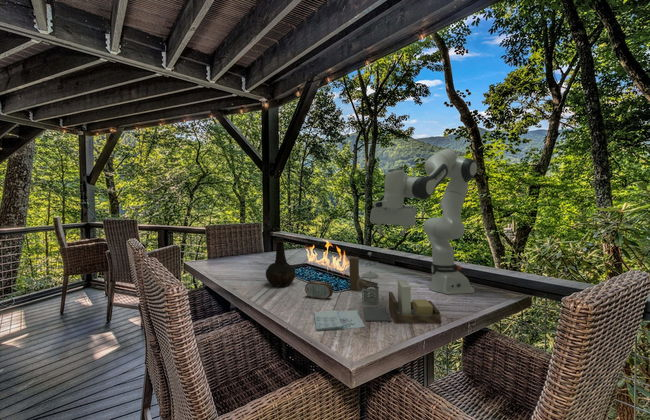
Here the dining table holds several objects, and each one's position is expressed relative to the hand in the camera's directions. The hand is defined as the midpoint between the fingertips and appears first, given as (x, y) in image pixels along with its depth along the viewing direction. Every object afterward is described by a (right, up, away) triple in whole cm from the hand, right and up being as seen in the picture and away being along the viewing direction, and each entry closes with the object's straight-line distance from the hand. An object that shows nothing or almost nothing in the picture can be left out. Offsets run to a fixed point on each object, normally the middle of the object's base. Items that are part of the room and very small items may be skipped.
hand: (391, 234), depth 144 cm
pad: (-8, -34, -7) cm, 36 cm away
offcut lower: (+12, -35, -8) cm, 37 cm away
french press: (-9, -34, +8) cm, 36 cm away
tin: (-33, -34, +19) cm, 51 cm away
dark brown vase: (-57, -34, +46) cm, 81 cm away
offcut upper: (+11, -32, -9) cm, 35 cm away
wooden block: (-12, -33, +31) cm, 47 cm away
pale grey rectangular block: (+4, -34, -8) cm, 35 cm away
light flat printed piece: (-24, -36, -12) cm, 45 cm away
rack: (+8, -34, -8) cm, 36 cm away
